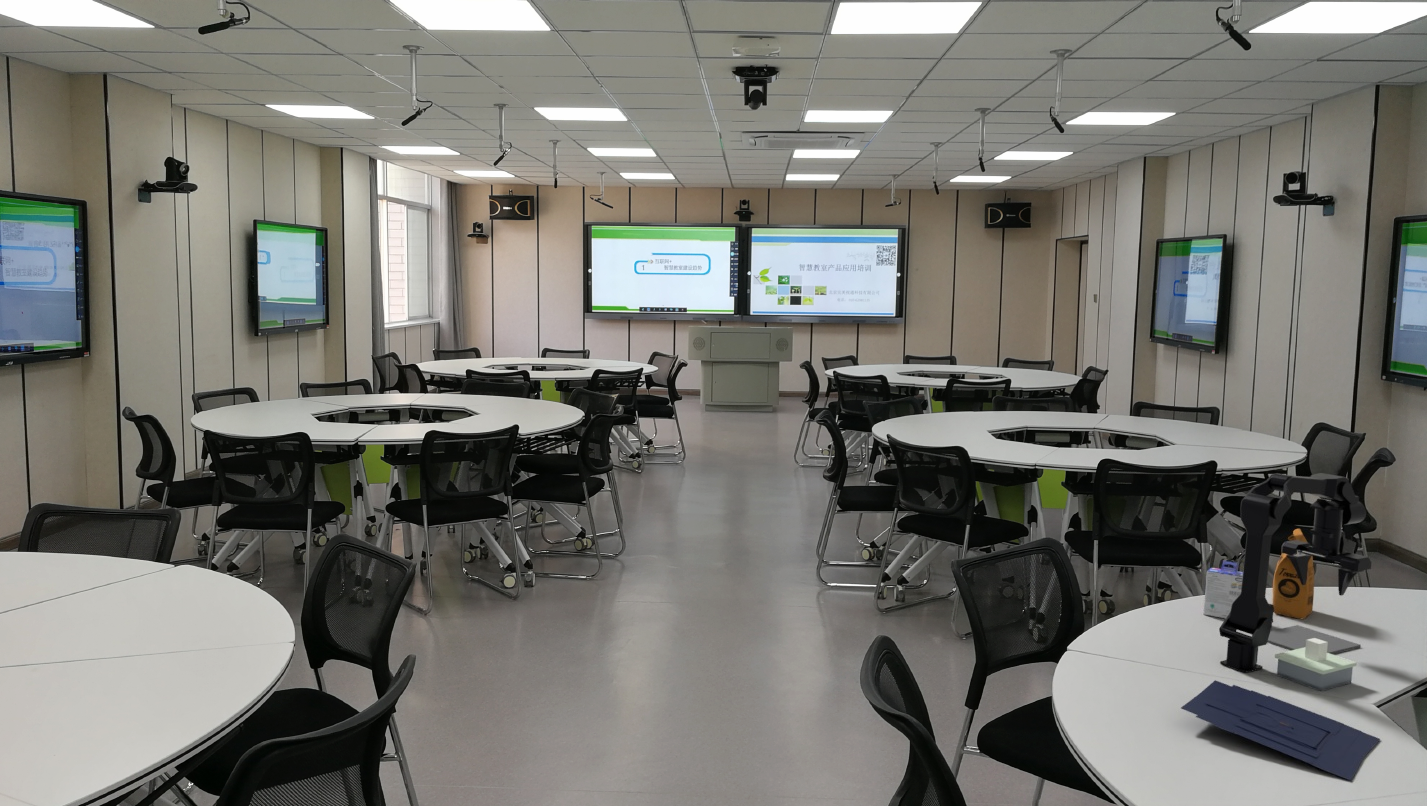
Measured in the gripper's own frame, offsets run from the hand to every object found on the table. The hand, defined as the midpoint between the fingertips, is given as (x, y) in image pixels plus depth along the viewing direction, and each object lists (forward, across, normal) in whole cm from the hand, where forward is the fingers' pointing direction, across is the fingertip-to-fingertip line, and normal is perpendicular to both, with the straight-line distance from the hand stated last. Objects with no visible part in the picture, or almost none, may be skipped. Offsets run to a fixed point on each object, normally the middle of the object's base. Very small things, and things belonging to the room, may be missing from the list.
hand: (1322, 590), depth 244 cm
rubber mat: (+15, +4, -2) cm, 15 cm away
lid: (+12, -12, +20) cm, 26 cm away
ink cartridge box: (+15, +26, -2) cm, 30 cm away
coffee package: (+15, +21, -22) cm, 34 cm away
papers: (+15, -27, +55) cm, 63 cm away
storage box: (+15, -12, +20) cm, 28 cm away
